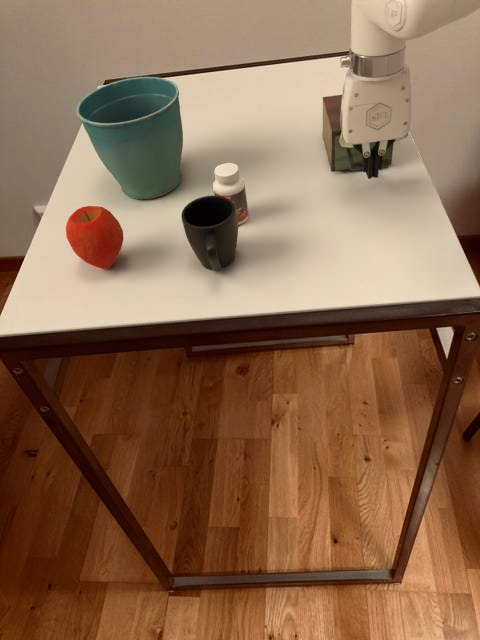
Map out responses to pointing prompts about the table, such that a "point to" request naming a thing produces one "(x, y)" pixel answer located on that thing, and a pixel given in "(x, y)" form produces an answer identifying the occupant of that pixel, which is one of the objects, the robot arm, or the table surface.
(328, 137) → the cabinet
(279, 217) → the table surface
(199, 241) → the mug
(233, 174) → the pill bottle
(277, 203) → the table surface
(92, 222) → the apple
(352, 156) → the drawer
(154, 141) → the flower pot
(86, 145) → the table surface
